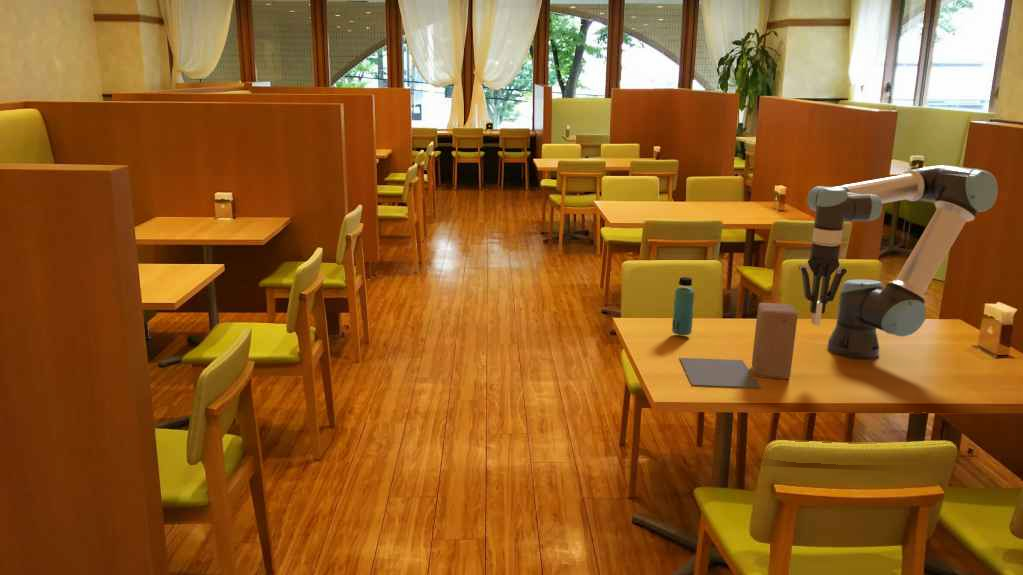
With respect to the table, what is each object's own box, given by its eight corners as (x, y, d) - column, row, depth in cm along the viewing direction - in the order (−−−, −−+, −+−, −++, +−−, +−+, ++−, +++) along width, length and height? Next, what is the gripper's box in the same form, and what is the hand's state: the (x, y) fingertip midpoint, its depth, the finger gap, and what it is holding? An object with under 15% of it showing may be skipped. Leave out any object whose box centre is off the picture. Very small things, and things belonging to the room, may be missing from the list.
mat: (742, 361, 248) (742, 360, 248) (760, 388, 227) (760, 387, 227) (679, 358, 249) (679, 357, 248) (691, 385, 227) (691, 384, 227)
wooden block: (790, 380, 233) (798, 313, 228) (753, 377, 235) (761, 310, 230) (786, 368, 243) (793, 304, 238) (751, 365, 245) (758, 301, 240)
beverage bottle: (694, 336, 271) (699, 277, 265) (686, 341, 265) (692, 281, 260) (675, 332, 274) (680, 274, 269) (667, 337, 269) (672, 278, 263)
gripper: (844, 241, 232) (834, 320, 238) (798, 239, 232) (788, 319, 238) (854, 246, 225) (843, 328, 231) (806, 245, 225) (796, 326, 231)
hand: (815, 323), depth 235 cm, fingers closed
